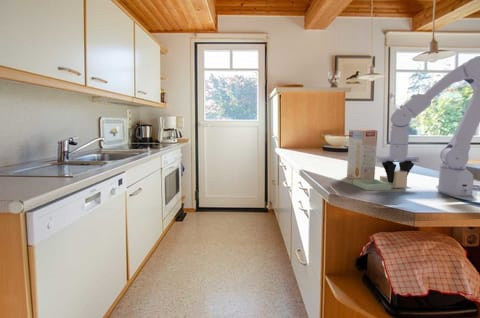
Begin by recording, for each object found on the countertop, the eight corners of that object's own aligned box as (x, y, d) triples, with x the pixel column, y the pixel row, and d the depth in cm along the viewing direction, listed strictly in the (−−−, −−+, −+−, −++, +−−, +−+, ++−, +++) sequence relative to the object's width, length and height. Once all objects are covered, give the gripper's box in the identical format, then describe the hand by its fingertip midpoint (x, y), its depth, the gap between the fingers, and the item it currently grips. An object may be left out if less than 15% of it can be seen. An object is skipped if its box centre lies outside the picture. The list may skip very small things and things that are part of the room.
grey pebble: (390, 185, 115) (391, 177, 114) (382, 185, 115) (382, 177, 115) (387, 183, 118) (388, 176, 117) (379, 183, 118) (380, 175, 117)
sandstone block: (406, 187, 110) (407, 171, 109) (395, 187, 109) (396, 172, 108) (399, 184, 114) (400, 169, 113) (389, 185, 113) (389, 170, 112)
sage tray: (390, 191, 108) (391, 184, 108) (366, 192, 108) (366, 185, 107) (375, 185, 118) (375, 179, 118) (352, 186, 117) (353, 179, 117)
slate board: (412, 190, 110) (412, 188, 110) (391, 190, 110) (392, 188, 109) (398, 185, 118) (398, 183, 118) (379, 186, 117) (379, 184, 117)
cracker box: (375, 185, 118) (378, 130, 116) (359, 185, 118) (362, 130, 116) (360, 178, 132) (363, 128, 130) (346, 178, 132) (348, 128, 129)
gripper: (410, 143, 115) (408, 179, 117) (373, 143, 113) (371, 180, 115) (424, 144, 108) (421, 183, 110) (384, 145, 107) (382, 184, 108)
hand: (396, 182), depth 112 cm, fingers closed on sandstone block, 4 cm apart
